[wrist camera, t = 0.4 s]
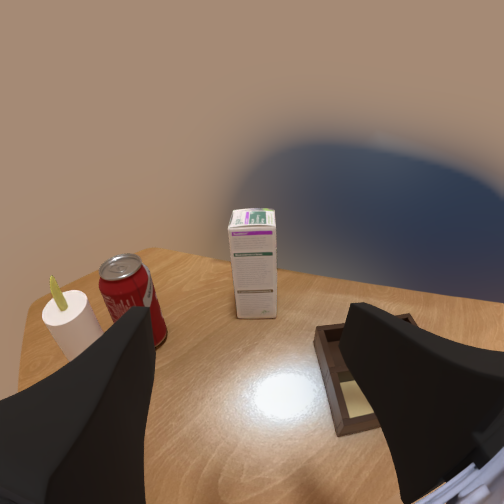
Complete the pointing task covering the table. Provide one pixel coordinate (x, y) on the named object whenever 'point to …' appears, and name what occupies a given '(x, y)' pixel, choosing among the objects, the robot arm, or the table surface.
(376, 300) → the table surface
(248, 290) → the syrup box
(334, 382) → the grid
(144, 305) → the soda can
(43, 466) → the robot arm
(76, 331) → the candle
